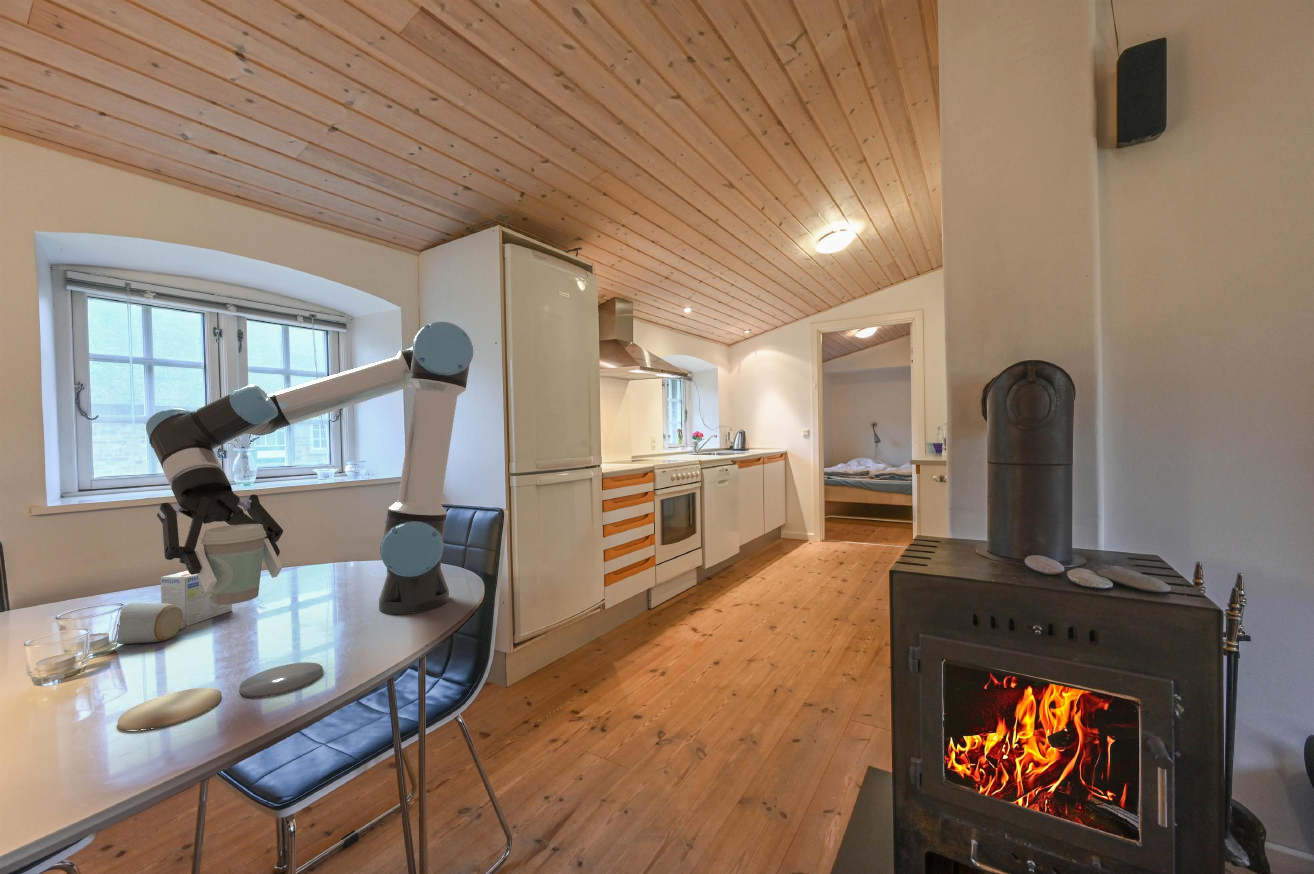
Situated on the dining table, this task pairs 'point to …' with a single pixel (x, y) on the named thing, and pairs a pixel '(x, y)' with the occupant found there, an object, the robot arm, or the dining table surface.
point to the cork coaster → (169, 709)
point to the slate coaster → (281, 679)
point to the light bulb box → (190, 597)
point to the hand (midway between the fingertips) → (245, 579)
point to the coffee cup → (235, 561)
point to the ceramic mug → (149, 622)
